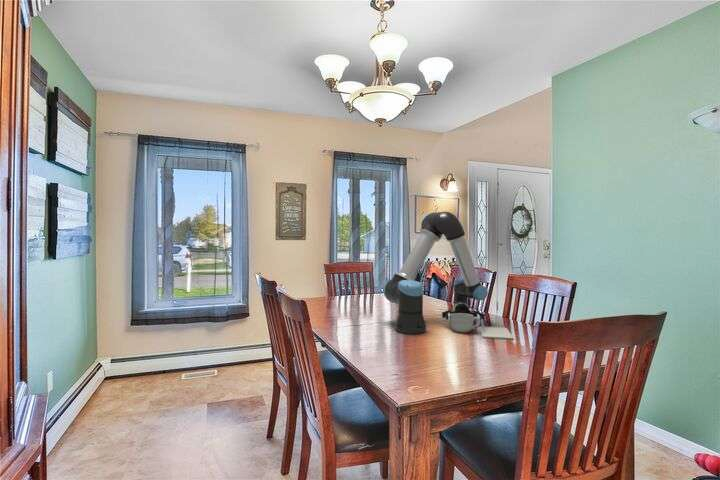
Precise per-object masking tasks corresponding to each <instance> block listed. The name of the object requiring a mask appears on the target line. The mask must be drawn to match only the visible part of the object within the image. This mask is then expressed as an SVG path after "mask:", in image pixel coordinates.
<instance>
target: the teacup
mask: <svg viewBox="0 0 720 480" xmlns="http://www.w3.org/2000/svg"><path fill="white" fill-rule="evenodd" d="M450 315H451V317H450V327H451V328H452V330H454V332H457V333H469V332H471V330H474V329H475V328H476V327H479V326H480V324H481V320H480V319H479V318H478V317H474V315H471V314H465V313H454V314H450ZM475 320H476V321H477V320H478V321H477V323H476V324H474V322H475Z"/></svg>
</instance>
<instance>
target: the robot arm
mask: <svg viewBox="0 0 720 480" xmlns="http://www.w3.org/2000/svg"><path fill="white" fill-rule="evenodd" d="M420 225H421V226H420V229H419V233H420V235H419V237H418V239H417V240H416V242H415V243H414V246H413V247H412V248H411V250H410V252H409V255H408V256H407V258H406V260H405V262H404V263H403V265H402V267H401V269H400V270H399V272H396V273H394V275H393V276H392V278H391V279H389V280H387V281H386V282H385V284H384V285H383V289H382V292H383V296H384V297H385V298H386V300H387V301H389V302H390V303H392V304H395V305H398V306H397V307H398V308H397V310H398V312H397V313H398V315H397V317H396V320H395V322H394V323H395V324H394V331H396V332H397V333H401V334H404V335H405V334H408V335H417V334H418V335H419V334H423V333H426V332H427V324H426V321H425V317H424V311H423V309H424V308H423V307H424V303H423V302H424V297H423V295H424V288H423V284H422V283H421V282H419V281H417V280H415V279H416V277H417V275H418V273H419V272H420V269H421V268H422V267H423V264H424V263H425V261H426V259H427V257H428V256H429V254H430V252H431V251H432V248H433V247H434V245H435V243H436V242H437V243H438V242H440V240H441V238H442V236H443V235H444V236H445V239H446V241H447V242H449V244H450V247H451V250H452V252H453V255H454V258H455V260H456V264H457V265H458V268H459V271H460V274H461V276H462V277H458V278H456V277H455V278H454V280H453V310H452V309H451V308H449V309H448V310H445V311H443V312H441V317H442V318H443V319H444V318H445V320H448V322H450V323H451V315H450V314H454V313H465V314H471V315H474V317H478V318H479V319H480V321H482V320H485V318H486V314H485V313H482V312H480V311H477V310H473V311H472V310H470V307H469V299H472V300H475V301H484V300H486V298H487V296H488V294H489V293H488V292H489V291H488V289H487V288H486V287H485V286H484V285H482V284H481V281H480V277H479V275H478V272H477V270H476V267H475V264H474V261H473V259H472V255H471V253H470V250H469V247H468V244H467V242H466V238H465V237H466V233H465V229H464V226H463V225H462V223H461V222H460V220H459V218H458V217H457V216H456V215H455V214H453V212H450V211H440V212H430V213H428V214H425V215H424V216H423V217H422V220H421V221H420ZM476 321H477V322H478V320H477V319H476Z"/></svg>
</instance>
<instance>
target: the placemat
mask: <svg viewBox="0 0 720 480" xmlns="http://www.w3.org/2000/svg"><path fill="white" fill-rule="evenodd" d="M478 329H479V332H480V333H479V334H480V336H481V337H482V339H492V338H496V339H495V340H511V341H514V340H515V338H514V337H513V335H512V334H511V332H510V331H509V329H508V327H504V326H502V327H500V326H483V325H482V326H480V325H478Z"/></svg>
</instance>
